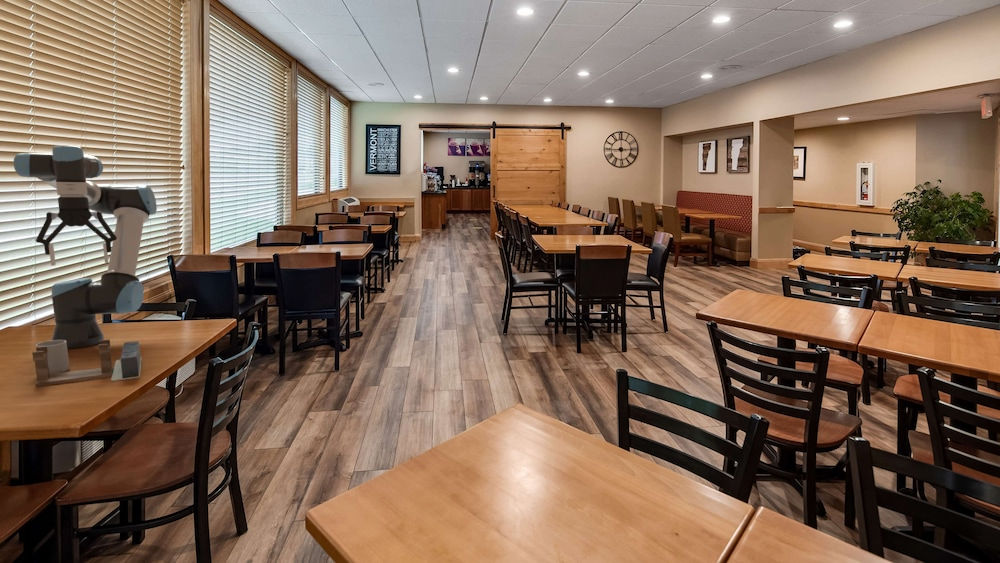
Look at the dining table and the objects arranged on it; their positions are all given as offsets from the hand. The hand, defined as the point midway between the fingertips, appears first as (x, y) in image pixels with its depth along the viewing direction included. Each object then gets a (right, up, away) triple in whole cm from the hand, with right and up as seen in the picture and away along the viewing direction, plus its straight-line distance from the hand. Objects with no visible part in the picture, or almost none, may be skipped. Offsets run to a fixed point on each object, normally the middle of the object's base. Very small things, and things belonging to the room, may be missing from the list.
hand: (80, 263), depth 174 cm
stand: (+8, -34, -12) cm, 37 cm away
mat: (+18, -33, -4) cm, 37 cm away
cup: (-4, -33, -5) cm, 34 cm away
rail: (+19, -33, -4) cm, 38 cm away
